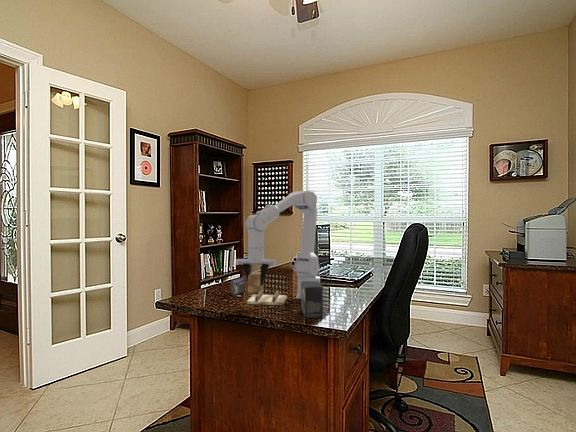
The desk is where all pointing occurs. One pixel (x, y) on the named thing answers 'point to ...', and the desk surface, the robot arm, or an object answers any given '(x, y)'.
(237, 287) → the mini dv tape
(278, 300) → the post slot base
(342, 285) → the desk surface
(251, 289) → the rail end block
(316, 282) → the small box
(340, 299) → the desk surface
